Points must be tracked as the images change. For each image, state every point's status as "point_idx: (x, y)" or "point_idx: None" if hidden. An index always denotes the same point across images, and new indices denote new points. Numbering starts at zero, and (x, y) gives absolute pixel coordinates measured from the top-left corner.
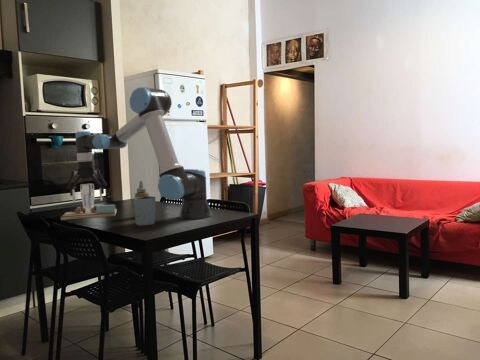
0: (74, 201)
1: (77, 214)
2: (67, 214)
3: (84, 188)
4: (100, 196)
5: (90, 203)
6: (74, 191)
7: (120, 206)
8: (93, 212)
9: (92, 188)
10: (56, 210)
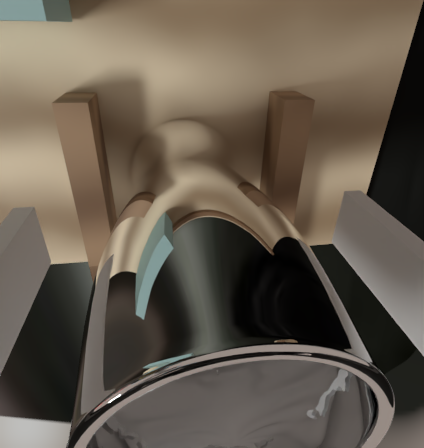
0: (348, 197)
1: (277, 92)
2: (356, 133)
3: (276, 267)
4: (5, 239)
5: (158, 164)
6: (404, 327)
7: (30, 406)
8: (139, 144)
9: (93, 319)
10: None
